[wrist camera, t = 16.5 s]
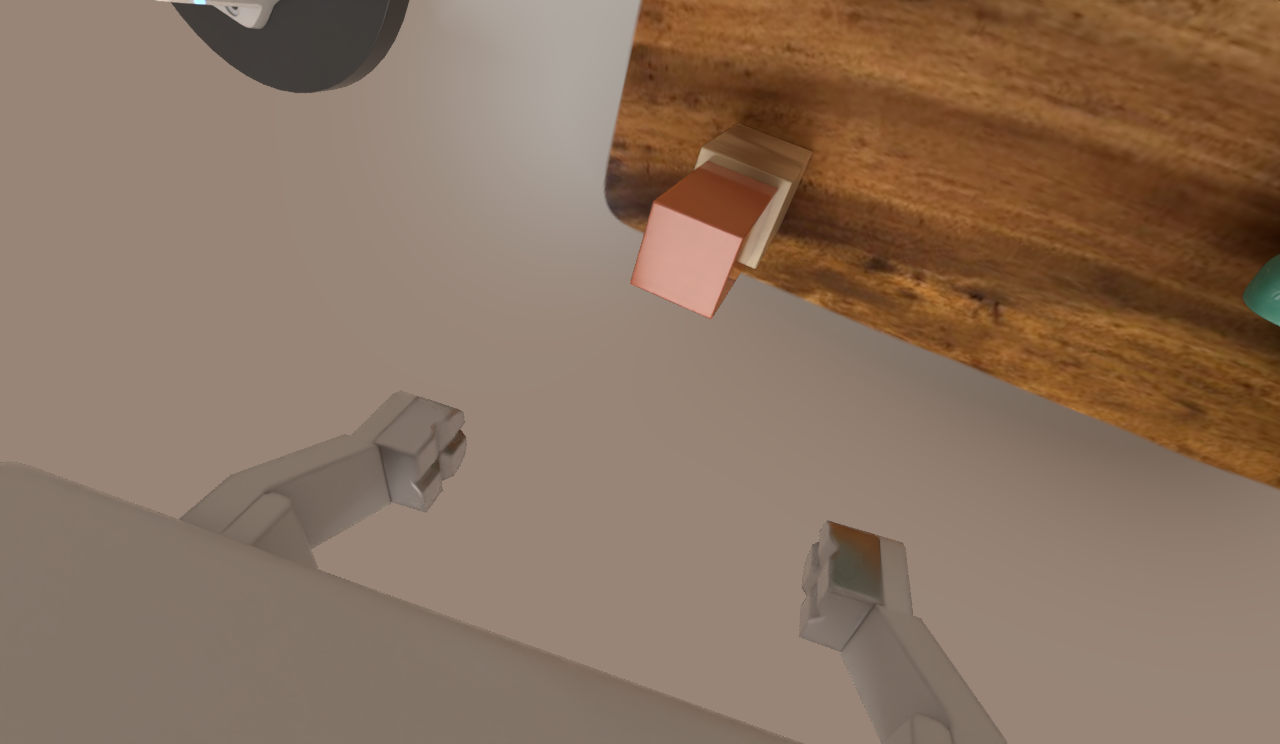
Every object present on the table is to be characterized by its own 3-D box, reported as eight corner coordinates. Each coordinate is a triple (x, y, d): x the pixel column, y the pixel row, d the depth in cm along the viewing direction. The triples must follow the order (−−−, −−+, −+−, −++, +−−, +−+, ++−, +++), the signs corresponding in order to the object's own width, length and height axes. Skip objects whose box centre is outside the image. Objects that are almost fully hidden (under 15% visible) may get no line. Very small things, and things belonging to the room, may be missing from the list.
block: (683, 230, 32) (629, 284, 26) (706, 159, 30) (653, 200, 23) (750, 258, 31) (711, 320, 25) (779, 188, 29) (744, 237, 23)
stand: (711, 198, 39) (673, 235, 32) (737, 122, 36) (701, 146, 29) (780, 226, 38) (755, 269, 32) (813, 151, 35) (792, 182, 29)
